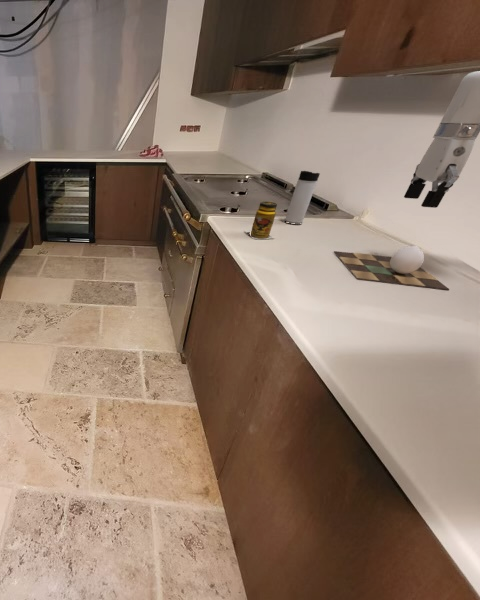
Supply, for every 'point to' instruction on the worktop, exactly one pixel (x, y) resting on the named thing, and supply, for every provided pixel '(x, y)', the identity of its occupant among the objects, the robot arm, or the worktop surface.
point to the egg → (407, 260)
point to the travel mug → (301, 197)
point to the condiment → (263, 221)
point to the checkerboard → (385, 271)
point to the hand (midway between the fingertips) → (419, 202)
